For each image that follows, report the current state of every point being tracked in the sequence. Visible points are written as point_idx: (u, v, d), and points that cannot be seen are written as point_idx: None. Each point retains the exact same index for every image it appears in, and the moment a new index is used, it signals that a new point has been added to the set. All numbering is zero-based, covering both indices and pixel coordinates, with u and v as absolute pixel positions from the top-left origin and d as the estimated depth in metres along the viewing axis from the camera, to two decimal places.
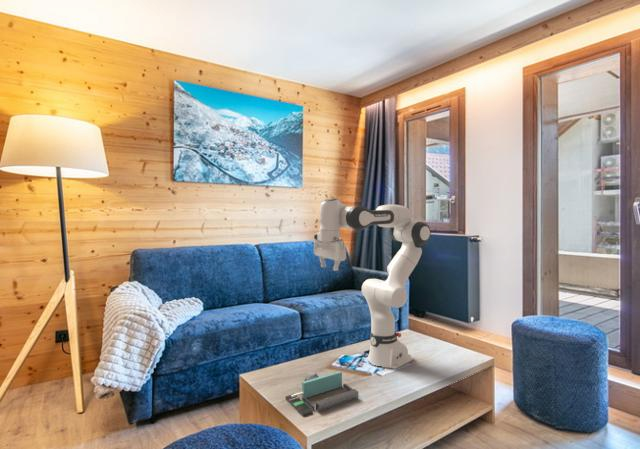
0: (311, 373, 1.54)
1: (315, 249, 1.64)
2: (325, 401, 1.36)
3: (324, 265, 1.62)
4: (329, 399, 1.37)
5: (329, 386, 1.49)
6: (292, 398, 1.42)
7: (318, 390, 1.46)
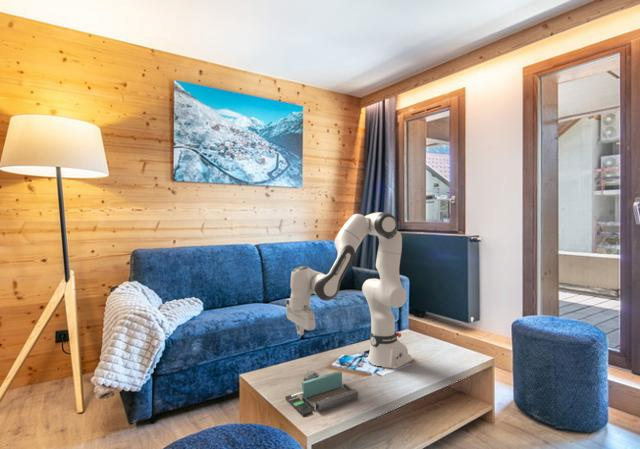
0: (310, 372, 1.55)
1: (287, 313, 1.68)
2: (325, 401, 1.36)
3: None
4: (329, 399, 1.37)
5: (329, 386, 1.49)
6: (292, 398, 1.42)
7: (318, 390, 1.46)
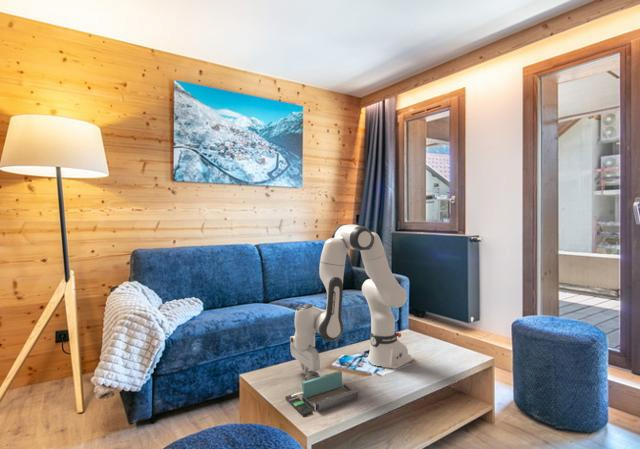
0: (311, 372, 1.55)
1: (292, 350, 1.66)
2: (325, 401, 1.36)
3: None
4: (329, 399, 1.37)
5: (329, 386, 1.49)
6: (292, 398, 1.42)
7: (318, 390, 1.46)
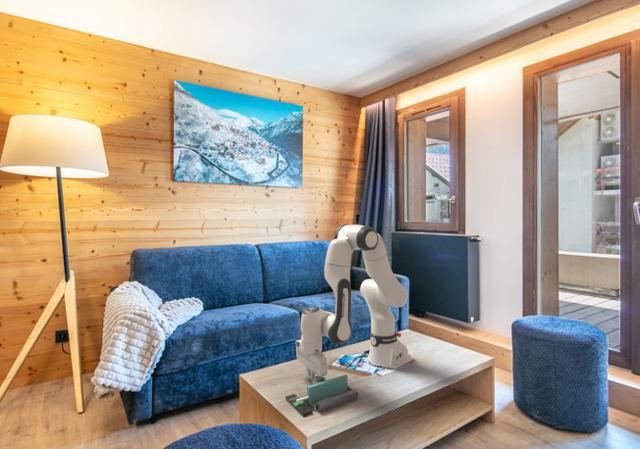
0: (318, 377, 1.50)
1: (297, 354, 1.62)
2: (325, 401, 1.36)
3: None
4: (329, 399, 1.37)
5: (334, 390, 1.46)
6: (292, 398, 1.42)
7: (323, 394, 1.43)
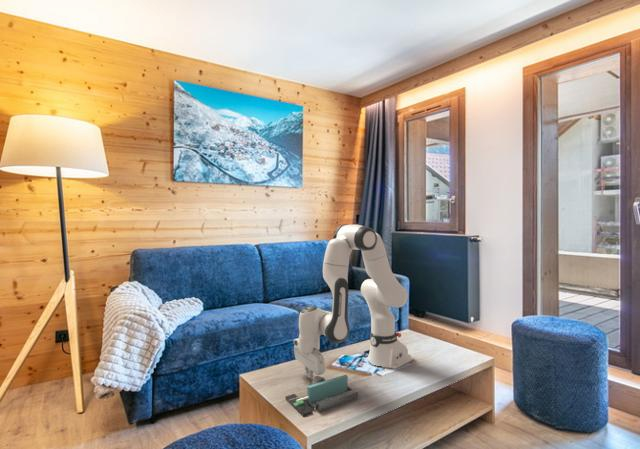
0: (318, 378, 1.50)
1: (295, 353, 1.63)
2: (325, 401, 1.36)
3: None
4: (329, 399, 1.37)
5: (335, 390, 1.46)
6: (292, 398, 1.42)
7: (323, 394, 1.43)
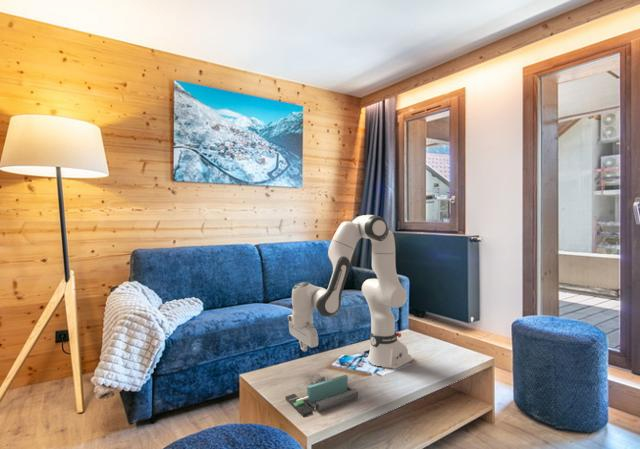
0: (318, 377, 1.51)
1: (290, 329, 1.68)
2: (325, 401, 1.36)
3: None
4: (329, 399, 1.37)
5: (335, 390, 1.46)
6: (292, 398, 1.42)
7: (323, 394, 1.43)
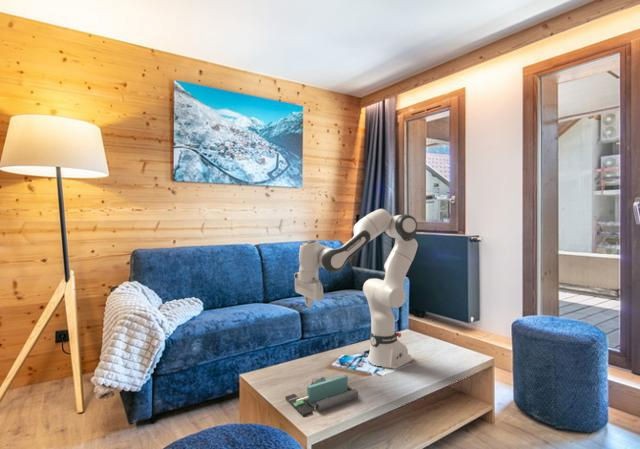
0: (318, 376, 1.51)
1: (296, 287, 1.74)
2: (325, 401, 1.36)
3: None
4: (329, 399, 1.37)
5: (335, 390, 1.46)
6: (292, 398, 1.42)
7: (323, 394, 1.43)
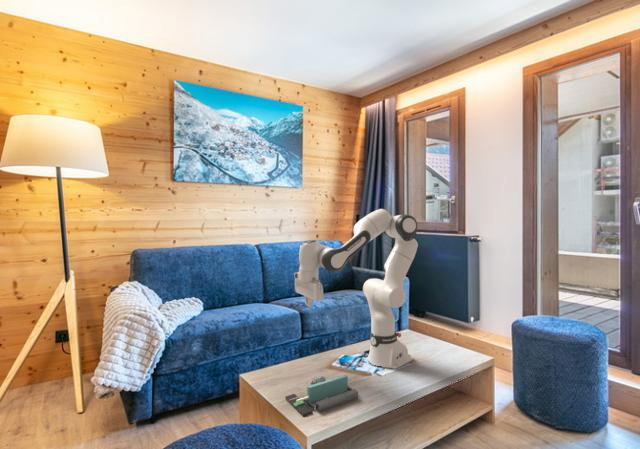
0: (318, 376, 1.52)
1: (296, 286, 1.74)
2: (325, 401, 1.36)
3: None
4: (329, 399, 1.37)
5: (335, 390, 1.46)
6: (292, 398, 1.42)
7: (323, 394, 1.43)
